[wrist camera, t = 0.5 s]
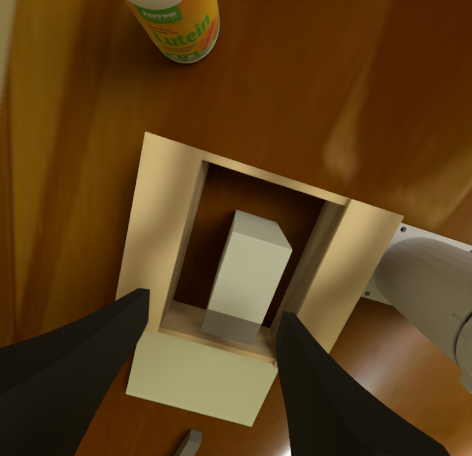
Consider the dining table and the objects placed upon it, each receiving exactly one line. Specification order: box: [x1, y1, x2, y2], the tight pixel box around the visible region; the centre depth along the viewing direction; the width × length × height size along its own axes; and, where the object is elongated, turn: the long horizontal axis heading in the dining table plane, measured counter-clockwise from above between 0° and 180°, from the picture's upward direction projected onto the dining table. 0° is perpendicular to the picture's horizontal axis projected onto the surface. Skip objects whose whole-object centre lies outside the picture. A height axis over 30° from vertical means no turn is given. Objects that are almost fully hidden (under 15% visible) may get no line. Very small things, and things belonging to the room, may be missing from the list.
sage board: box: [126, 331, 278, 427], centre depth 25 cm, size 16×12×1 cm
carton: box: [115, 132, 404, 368], centre depth 19 cm, size 19×16×4 cm
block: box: [201, 210, 292, 346], centre depth 18 cm, size 4×8×7 cm, turn 163°
